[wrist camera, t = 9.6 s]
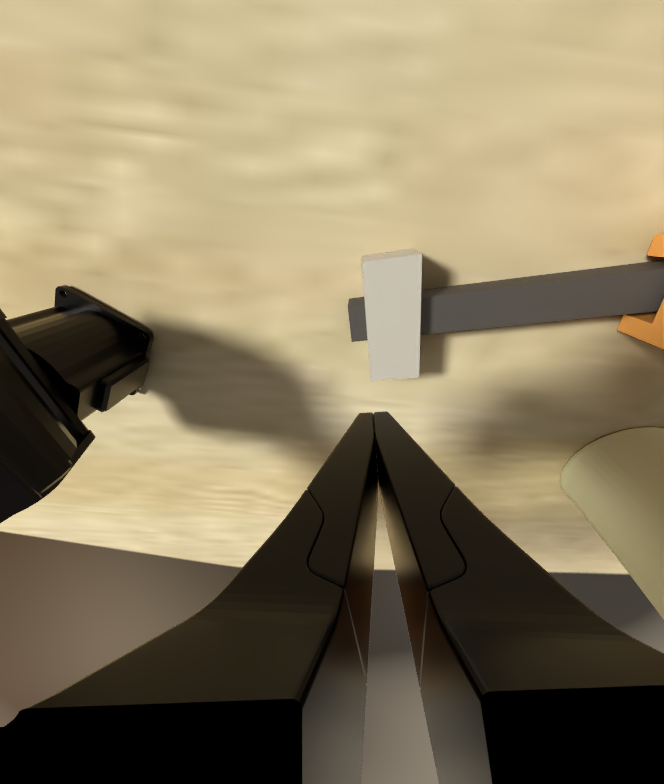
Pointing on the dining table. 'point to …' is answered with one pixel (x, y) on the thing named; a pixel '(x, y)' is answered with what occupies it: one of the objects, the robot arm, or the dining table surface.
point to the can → (625, 501)
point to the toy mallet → (482, 304)
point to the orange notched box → (647, 326)
